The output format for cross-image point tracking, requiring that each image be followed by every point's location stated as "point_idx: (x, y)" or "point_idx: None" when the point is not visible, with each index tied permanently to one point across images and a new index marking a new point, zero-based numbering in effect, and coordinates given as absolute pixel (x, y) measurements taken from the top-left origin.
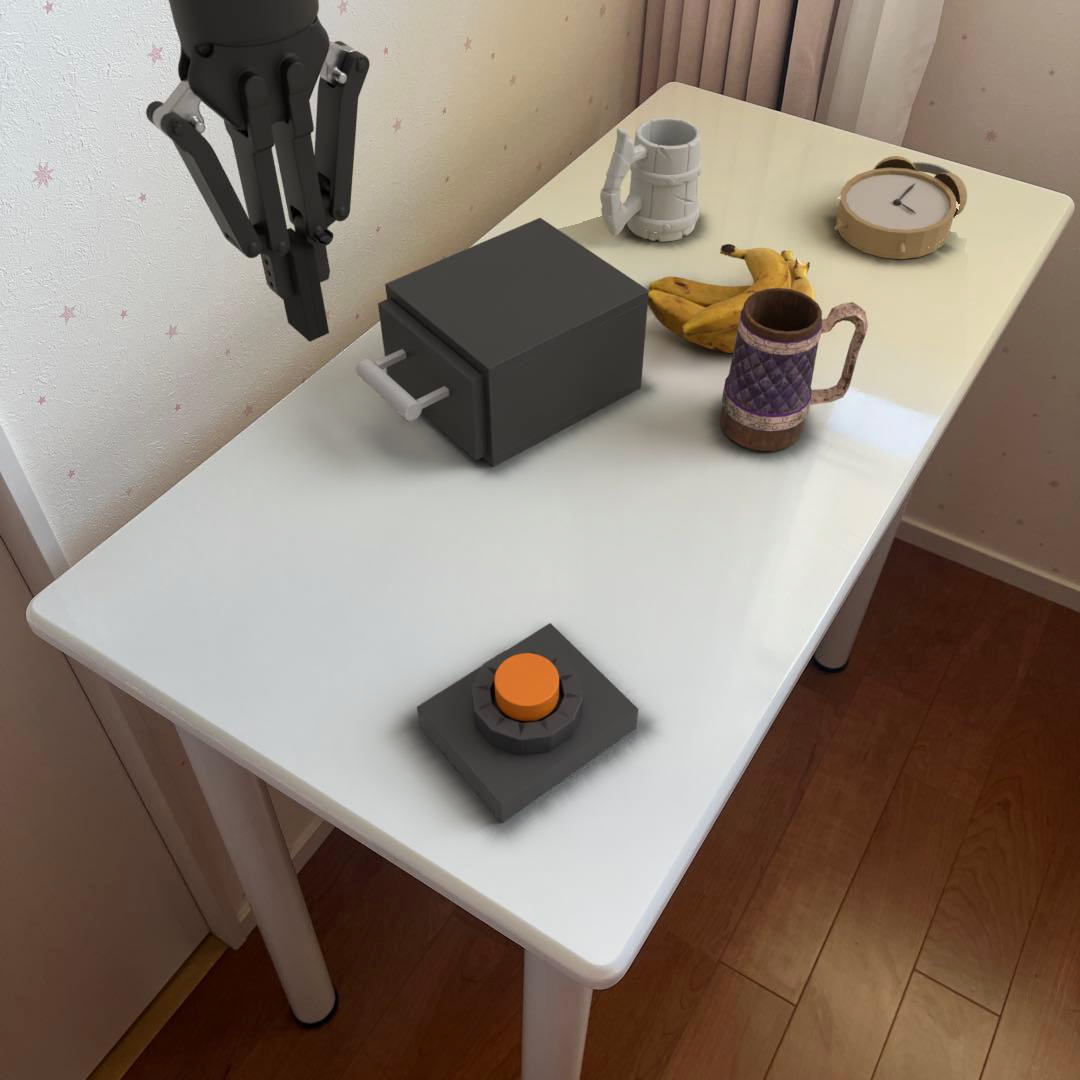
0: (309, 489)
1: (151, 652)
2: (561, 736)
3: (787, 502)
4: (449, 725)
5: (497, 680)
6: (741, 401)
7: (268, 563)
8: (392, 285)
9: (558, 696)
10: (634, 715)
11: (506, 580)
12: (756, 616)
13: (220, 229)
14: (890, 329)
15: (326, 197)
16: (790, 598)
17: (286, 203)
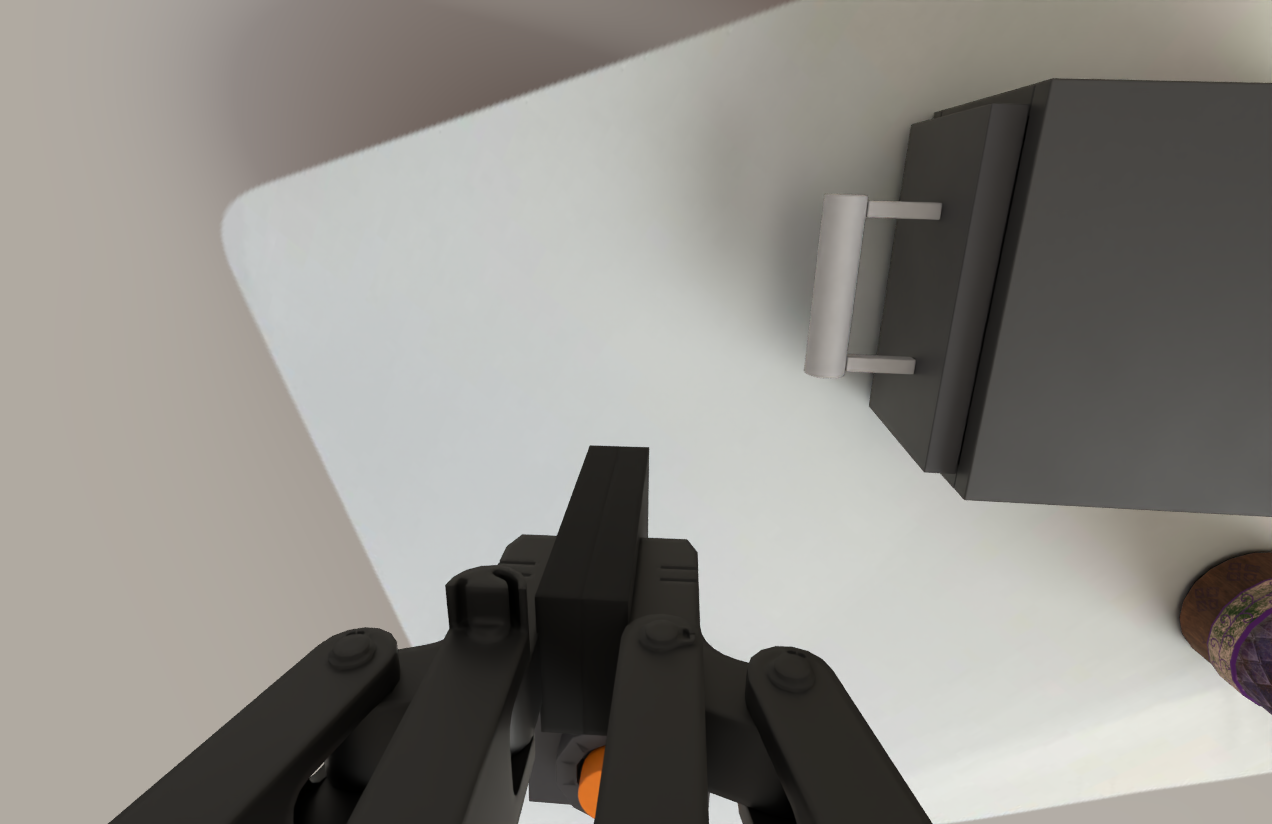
0: (638, 260)
1: (321, 386)
2: None
3: (1113, 709)
4: (540, 718)
5: (587, 781)
6: (1245, 658)
7: (512, 353)
8: (1059, 99)
9: None
10: None
11: (743, 577)
12: (916, 780)
13: (287, 671)
14: None
15: (773, 772)
16: (966, 789)
17: (613, 692)
